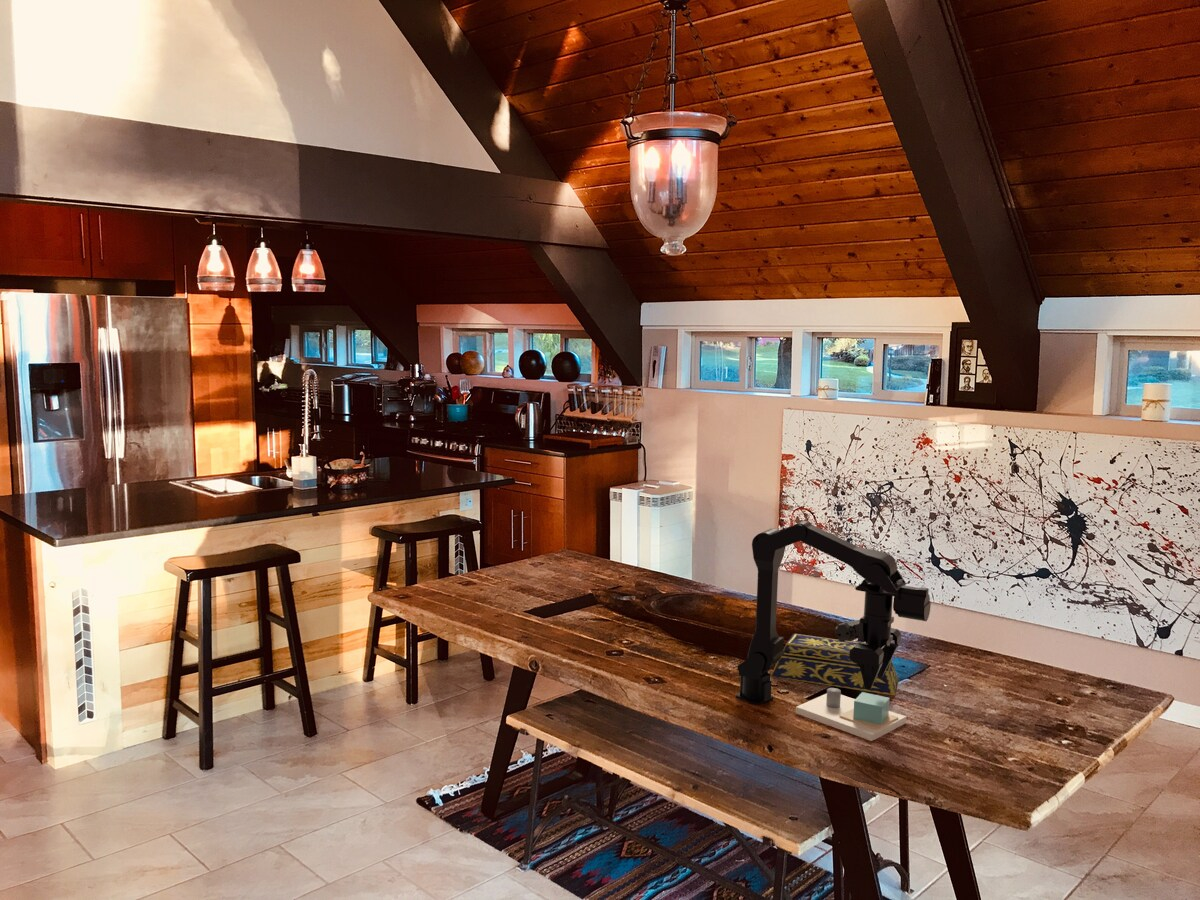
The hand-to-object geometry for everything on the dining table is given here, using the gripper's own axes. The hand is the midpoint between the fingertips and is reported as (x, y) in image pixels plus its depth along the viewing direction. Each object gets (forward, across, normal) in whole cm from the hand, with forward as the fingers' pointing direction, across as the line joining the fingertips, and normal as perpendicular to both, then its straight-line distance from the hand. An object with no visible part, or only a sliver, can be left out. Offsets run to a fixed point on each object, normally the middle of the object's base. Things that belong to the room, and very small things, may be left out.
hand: (873, 682), depth 206 cm
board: (+10, -1, -5) cm, 11 cm away
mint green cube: (+8, 0, 0) cm, 8 cm away
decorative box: (+10, -23, -16) cm, 30 cm away
